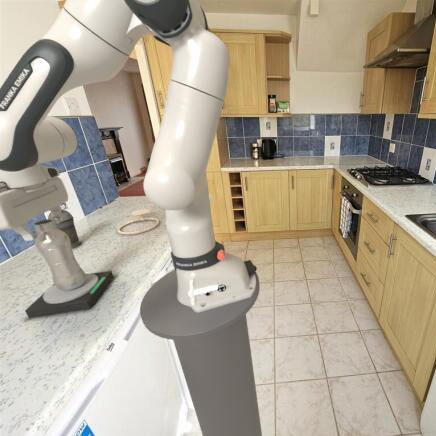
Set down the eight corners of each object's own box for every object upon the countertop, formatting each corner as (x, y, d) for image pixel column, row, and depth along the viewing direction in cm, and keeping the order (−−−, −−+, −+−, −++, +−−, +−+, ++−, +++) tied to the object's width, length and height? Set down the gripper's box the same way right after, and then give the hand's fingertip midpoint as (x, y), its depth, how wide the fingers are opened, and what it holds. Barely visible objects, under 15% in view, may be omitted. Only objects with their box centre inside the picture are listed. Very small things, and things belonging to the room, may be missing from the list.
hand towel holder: (109, 228, 101) (123, 211, 119) (112, 238, 103) (125, 219, 121) (153, 222, 106) (161, 206, 124) (156, 231, 107) (163, 214, 125)
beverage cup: (59, 246, 97) (37, 199, 89) (82, 240, 102) (63, 194, 94) (61, 253, 92) (38, 203, 84) (85, 245, 97) (65, 198, 89)
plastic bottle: (67, 280, 71) (37, 218, 63) (93, 277, 72) (66, 215, 64) (52, 295, 65) (16, 228, 57) (80, 292, 66) (49, 226, 58)
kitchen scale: (114, 277, 77) (110, 268, 76) (90, 308, 65) (85, 299, 63) (63, 284, 75) (59, 275, 74) (29, 318, 62) (23, 308, 61)
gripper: (-6, 188, 47) (28, 249, 53) (62, 167, 65) (82, 214, 71) (-45, 191, 46) (-6, 253, 52) (35, 169, 64) (57, 217, 70)
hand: (45, 230), depth 61 cm, fingers open, 8 cm apart
